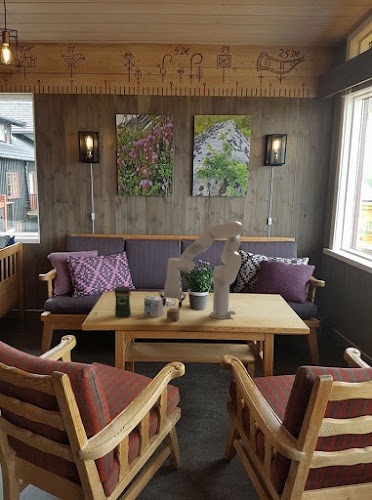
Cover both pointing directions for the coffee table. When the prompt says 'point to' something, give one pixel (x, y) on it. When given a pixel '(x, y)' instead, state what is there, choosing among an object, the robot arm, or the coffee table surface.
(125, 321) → the coffee table surface
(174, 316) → the walnut cube
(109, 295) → the coffee table surface
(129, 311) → the coffee jar
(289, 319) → the coffee table surface
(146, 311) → the light bulb box
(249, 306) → the coffee table surface
